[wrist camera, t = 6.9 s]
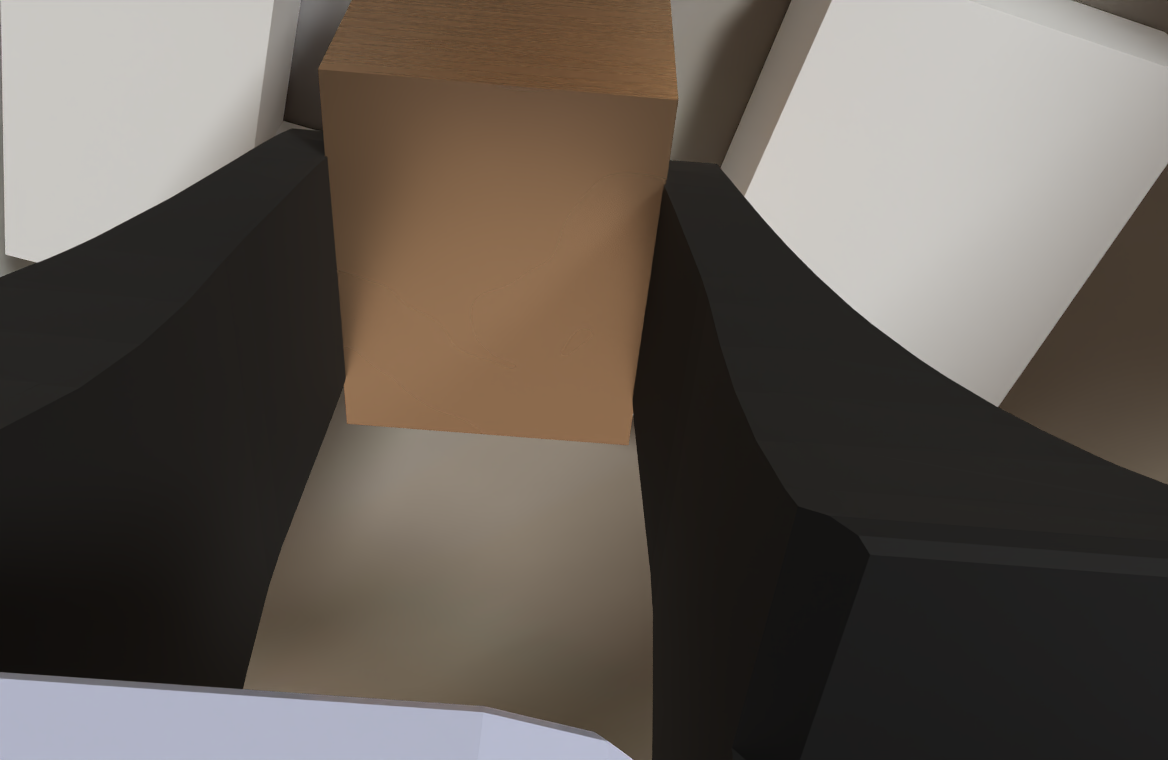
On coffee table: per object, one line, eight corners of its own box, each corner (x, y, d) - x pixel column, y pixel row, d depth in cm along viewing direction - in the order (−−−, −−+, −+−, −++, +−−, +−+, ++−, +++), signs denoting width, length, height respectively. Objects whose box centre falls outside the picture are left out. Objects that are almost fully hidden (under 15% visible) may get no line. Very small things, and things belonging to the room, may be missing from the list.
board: (1164, 31, 17) (1222, 85, 15) (914, 421, 21) (937, 493, 20) (65, -345, 14) (-6, -328, 12) (57, 193, 19) (4, 254, 17)
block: (662, -92, 13) (678, 100, 9) (627, 201, 16) (627, 445, 12) (408, -116, 13) (318, 69, 9) (415, 183, 16) (347, 423, 12)
